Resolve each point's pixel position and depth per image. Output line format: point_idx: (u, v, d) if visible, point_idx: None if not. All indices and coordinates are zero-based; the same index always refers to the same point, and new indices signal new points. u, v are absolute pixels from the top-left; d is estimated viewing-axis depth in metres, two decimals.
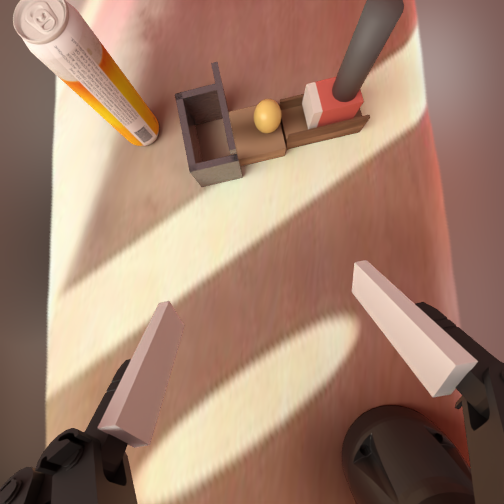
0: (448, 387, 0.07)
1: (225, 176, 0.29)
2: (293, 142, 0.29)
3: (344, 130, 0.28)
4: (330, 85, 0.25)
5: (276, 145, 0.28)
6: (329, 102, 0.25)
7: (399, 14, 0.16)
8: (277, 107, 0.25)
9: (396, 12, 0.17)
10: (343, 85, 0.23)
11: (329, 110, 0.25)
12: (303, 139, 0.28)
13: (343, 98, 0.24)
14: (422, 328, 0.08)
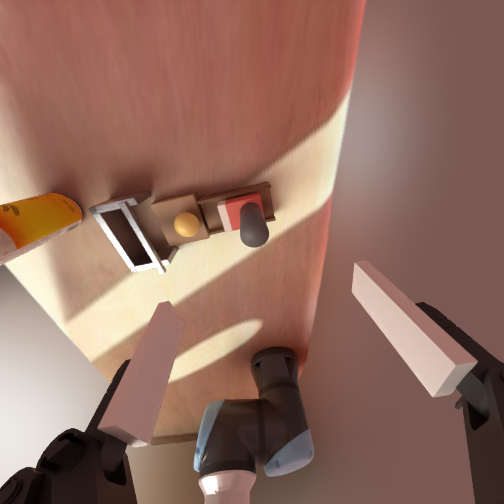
0: (448, 387, 0.07)
1: None
2: None
3: None
4: (237, 208, 0.28)
5: (200, 236, 0.33)
6: (237, 223, 0.29)
7: (265, 241, 0.22)
8: (193, 228, 0.29)
9: (263, 239, 0.22)
10: None
11: None
12: None
13: None
14: (422, 328, 0.08)
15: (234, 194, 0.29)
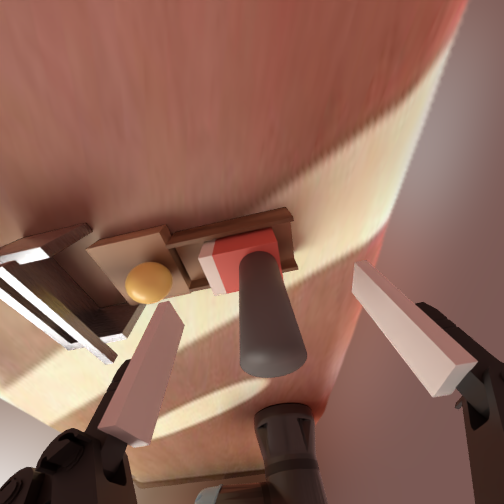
0: (448, 387, 0.07)
1: None
2: None
3: None
4: (235, 260, 0.15)
5: (177, 290, 0.21)
6: (235, 283, 0.17)
7: (296, 368, 0.10)
8: (158, 292, 0.16)
9: (292, 365, 0.10)
10: None
11: (236, 290, 0.17)
12: None
13: None
14: (422, 328, 0.08)
15: (229, 232, 0.17)
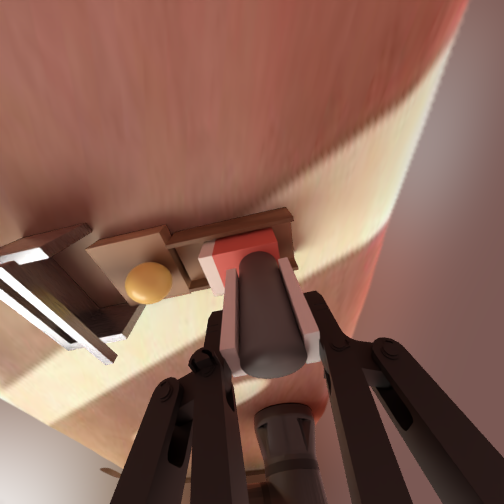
0: (312, 354, 0.10)
1: None
2: None
3: None
4: (235, 260, 0.15)
5: (177, 291, 0.21)
6: None
7: (296, 369, 0.10)
8: (158, 292, 0.16)
9: (293, 365, 0.10)
10: None
11: None
12: None
13: None
14: (297, 309, 0.10)
15: (229, 233, 0.17)
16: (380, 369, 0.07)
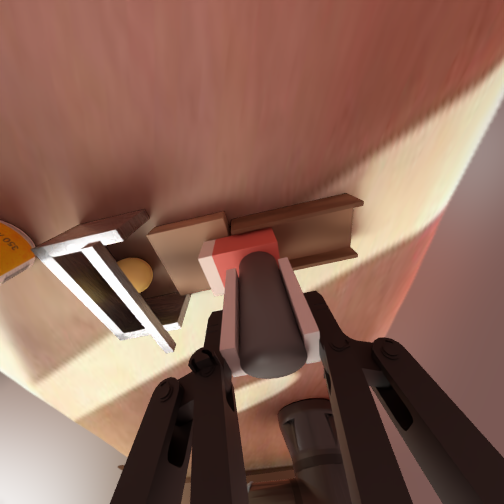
0: (312, 354, 0.10)
1: None
2: None
3: None
4: (235, 260, 0.15)
5: None
6: None
7: (296, 369, 0.10)
8: None
9: (293, 365, 0.10)
10: None
11: None
12: None
13: None
14: (297, 309, 0.10)
15: (297, 217, 0.16)
16: (380, 369, 0.07)
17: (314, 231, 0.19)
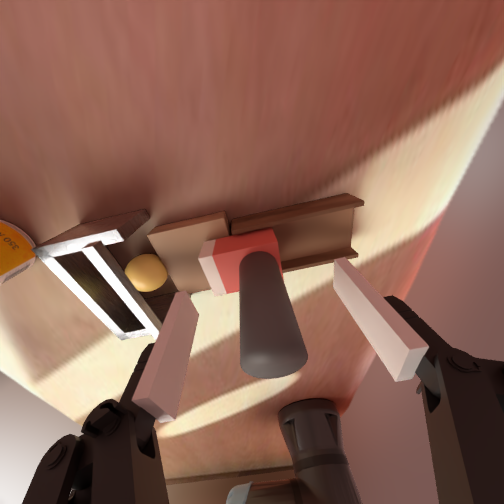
0: (407, 372, 0.08)
1: None
2: None
3: None
4: (236, 260, 0.15)
5: None
6: (235, 283, 0.17)
7: (297, 369, 0.10)
8: None
9: (293, 365, 0.10)
10: None
11: (236, 290, 0.17)
12: None
13: None
14: (386, 318, 0.08)
15: (298, 217, 0.16)
16: None
17: (315, 231, 0.19)
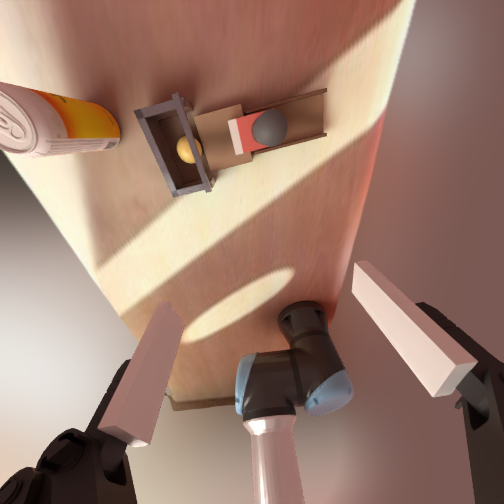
0: (448, 387, 0.07)
1: None
2: None
3: None
4: (249, 123, 0.26)
5: (244, 158, 0.31)
6: (249, 144, 0.27)
7: (283, 137, 0.20)
8: None
9: (281, 135, 0.20)
10: None
11: (249, 151, 0.28)
12: None
13: (260, 143, 0.27)
14: (422, 328, 0.08)
15: (286, 100, 0.27)
16: None
17: (298, 118, 0.29)
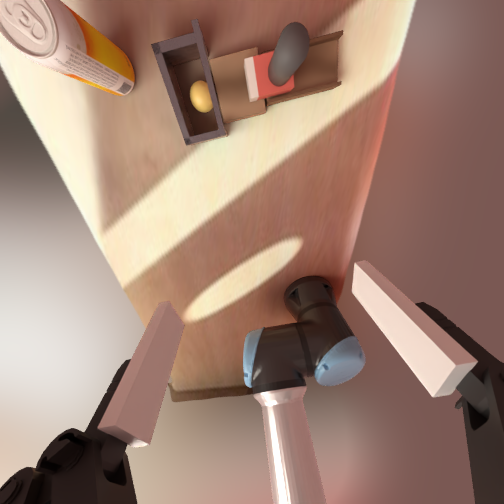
0: (448, 387, 0.07)
1: (213, 139, 0.33)
2: (273, 103, 0.31)
3: (319, 91, 0.31)
4: (266, 62, 0.26)
5: (257, 108, 0.31)
6: (264, 86, 0.27)
7: (304, 57, 0.20)
8: None
9: (302, 54, 0.20)
10: (274, 78, 0.25)
11: (264, 95, 0.28)
12: (282, 100, 0.31)
13: (276, 85, 0.27)
14: (422, 328, 0.08)
15: None
16: None
17: (313, 66, 0.29)
